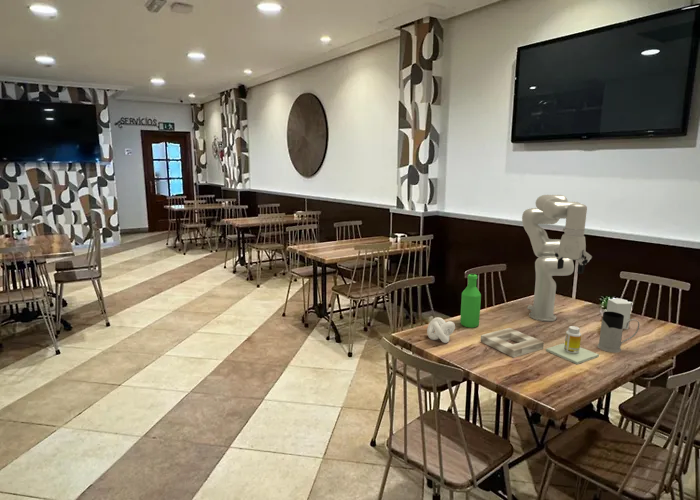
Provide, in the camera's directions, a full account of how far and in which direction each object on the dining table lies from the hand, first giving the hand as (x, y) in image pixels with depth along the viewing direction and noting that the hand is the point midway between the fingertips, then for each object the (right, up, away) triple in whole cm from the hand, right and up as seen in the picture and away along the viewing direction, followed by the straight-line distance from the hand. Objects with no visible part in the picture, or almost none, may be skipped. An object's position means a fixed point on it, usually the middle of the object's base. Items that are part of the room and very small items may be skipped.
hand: (570, 271), depth 192 cm
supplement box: (+31, -28, +18) cm, 45 cm away
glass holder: (+16, -33, -8) cm, 37 cm away
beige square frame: (-27, -32, -4) cm, 42 cm away
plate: (-5, -33, -13) cm, 36 cm away
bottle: (-39, -27, +18) cm, 51 cm away
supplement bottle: (-6, -33, -12) cm, 35 cm away
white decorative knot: (-57, -31, +2) cm, 65 cm away
